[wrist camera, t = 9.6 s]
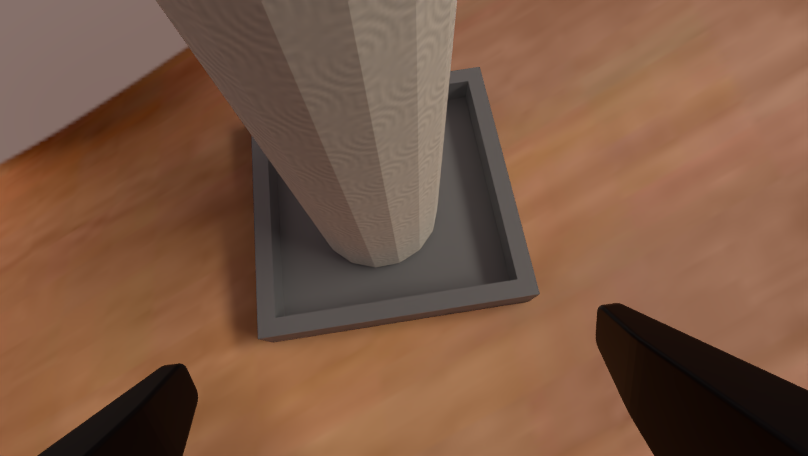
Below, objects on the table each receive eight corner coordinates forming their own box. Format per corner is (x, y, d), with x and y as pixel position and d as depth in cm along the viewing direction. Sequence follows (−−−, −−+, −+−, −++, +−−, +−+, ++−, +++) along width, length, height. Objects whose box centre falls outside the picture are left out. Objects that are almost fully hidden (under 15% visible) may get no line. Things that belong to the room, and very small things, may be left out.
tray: (528, 301, 20) (539, 294, 18) (273, 342, 20) (257, 338, 18) (475, 90, 25) (479, 66, 23) (263, 122, 24) (250, 101, 22)
